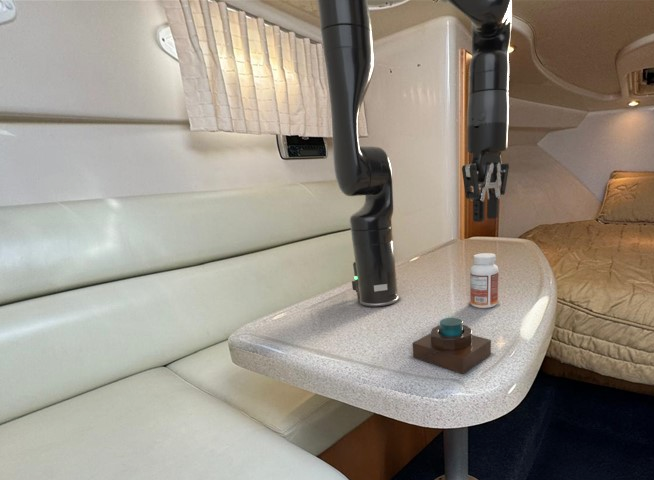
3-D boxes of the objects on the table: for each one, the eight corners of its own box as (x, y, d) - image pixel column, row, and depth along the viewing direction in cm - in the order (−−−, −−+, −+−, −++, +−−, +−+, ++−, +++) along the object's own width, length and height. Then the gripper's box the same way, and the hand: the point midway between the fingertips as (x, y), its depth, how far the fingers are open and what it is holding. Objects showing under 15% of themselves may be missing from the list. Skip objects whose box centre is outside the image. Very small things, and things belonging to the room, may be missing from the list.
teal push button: (435, 334, 58) (435, 322, 57) (448, 327, 61) (448, 316, 60) (453, 339, 56) (453, 327, 55) (466, 332, 58) (466, 320, 58)
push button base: (413, 357, 60) (411, 332, 58) (442, 341, 66) (441, 317, 64) (463, 374, 54) (462, 347, 52) (490, 354, 60) (491, 329, 58)
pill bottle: (490, 298, 86) (492, 251, 81) (502, 306, 81) (504, 256, 76) (466, 302, 85) (466, 254, 80) (476, 310, 80) (476, 259, 75)
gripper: (489, 127, 75) (487, 215, 82) (448, 123, 65) (450, 223, 72) (523, 122, 70) (518, 216, 78) (484, 117, 60) (482, 225, 68)
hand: (485, 219), depth 75 cm, fingers open, 4 cm apart
